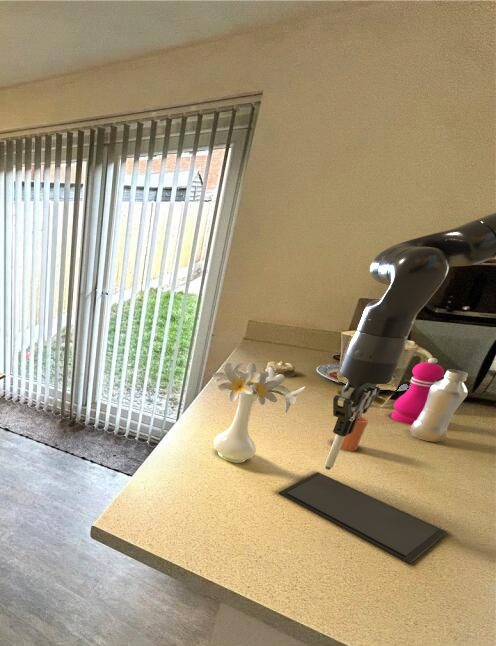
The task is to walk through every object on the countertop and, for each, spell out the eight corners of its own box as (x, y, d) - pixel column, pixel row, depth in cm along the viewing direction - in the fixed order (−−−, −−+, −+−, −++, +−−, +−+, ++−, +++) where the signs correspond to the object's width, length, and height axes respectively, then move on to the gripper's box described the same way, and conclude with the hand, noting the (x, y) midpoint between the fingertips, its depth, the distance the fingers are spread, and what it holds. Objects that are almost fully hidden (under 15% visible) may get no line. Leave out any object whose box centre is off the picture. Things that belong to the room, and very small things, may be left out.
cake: (298, 380, 149) (303, 367, 146) (268, 378, 151) (272, 365, 149) (288, 368, 157) (292, 356, 154) (260, 367, 160) (263, 355, 157)
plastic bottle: (419, 431, 112) (451, 366, 104) (448, 443, 106) (484, 375, 98) (400, 433, 111) (431, 368, 103) (429, 446, 105) (464, 377, 97)
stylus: (333, 469, 85) (355, 412, 80) (329, 471, 85) (352, 414, 79) (325, 466, 86) (347, 409, 81) (322, 468, 86) (343, 411, 80)
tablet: (445, 534, 77) (447, 530, 76) (408, 565, 70) (410, 561, 70) (316, 474, 95) (317, 471, 94) (277, 494, 88) (279, 491, 88)
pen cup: (359, 449, 104) (372, 419, 101) (350, 453, 102) (362, 423, 99) (338, 441, 108) (350, 412, 105) (329, 445, 106) (341, 416, 103)
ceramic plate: (369, 399, 131) (372, 391, 130) (298, 372, 154) (300, 365, 153) (428, 392, 136) (432, 384, 134) (350, 366, 159) (353, 359, 158)
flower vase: (278, 481, 93) (311, 385, 83) (192, 458, 102) (212, 369, 92) (275, 454, 103) (305, 366, 93) (197, 436, 112) (216, 353, 102)
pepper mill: (428, 428, 113) (460, 363, 106) (396, 424, 116) (425, 360, 108) (413, 417, 120) (442, 355, 112) (383, 413, 122) (410, 352, 114)
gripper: (380, 367, 69) (346, 450, 76) (415, 354, 75) (380, 433, 82) (330, 355, 75) (303, 433, 82) (365, 344, 81) (337, 418, 88)
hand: (342, 433), depth 82 cm, fingers closed on stylus, 1 cm apart
